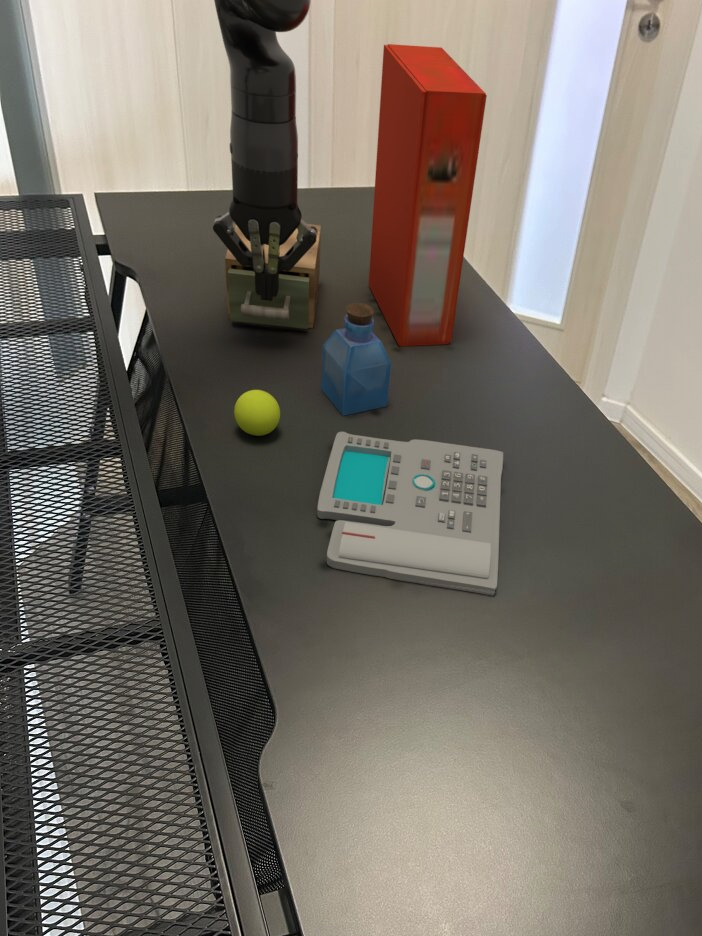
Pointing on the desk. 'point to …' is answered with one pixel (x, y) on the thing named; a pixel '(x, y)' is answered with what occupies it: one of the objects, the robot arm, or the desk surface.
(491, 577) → the office telephone
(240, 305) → the drawer
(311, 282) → the cabinet
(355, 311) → the perfume bottle
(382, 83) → the file binder
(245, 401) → the ball
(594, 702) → the desk surface
